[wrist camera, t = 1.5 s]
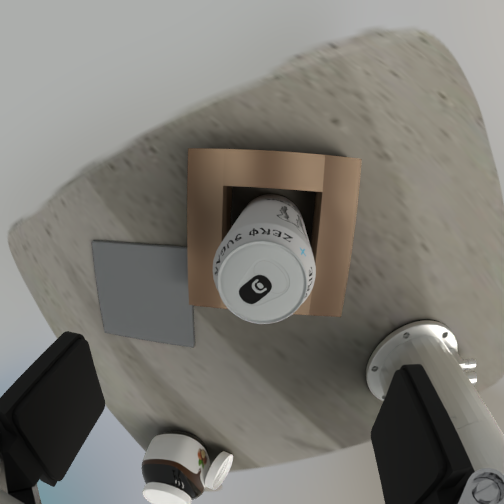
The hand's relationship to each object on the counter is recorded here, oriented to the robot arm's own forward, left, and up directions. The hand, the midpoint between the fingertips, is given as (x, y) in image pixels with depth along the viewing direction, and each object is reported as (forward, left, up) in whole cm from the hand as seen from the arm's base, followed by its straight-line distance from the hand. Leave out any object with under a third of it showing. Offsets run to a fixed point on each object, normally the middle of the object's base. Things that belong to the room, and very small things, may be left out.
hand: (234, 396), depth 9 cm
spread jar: (+9, +36, -24) cm, 44 cm away
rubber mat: (+14, +9, -24) cm, 29 cm away
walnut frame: (0, 0, -24) cm, 24 cm away
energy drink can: (0, 0, -24) cm, 24 cm away
